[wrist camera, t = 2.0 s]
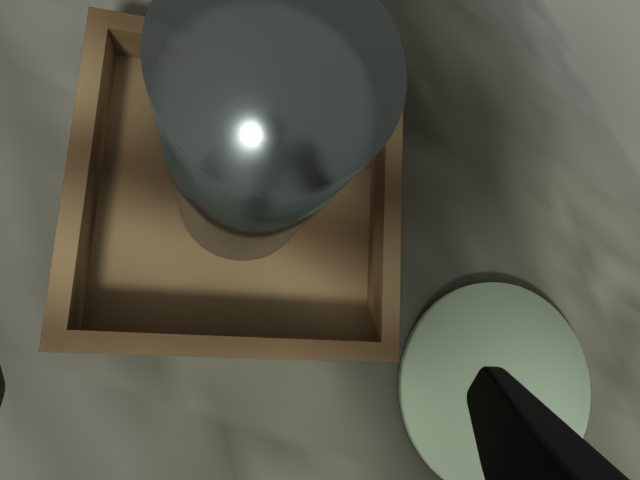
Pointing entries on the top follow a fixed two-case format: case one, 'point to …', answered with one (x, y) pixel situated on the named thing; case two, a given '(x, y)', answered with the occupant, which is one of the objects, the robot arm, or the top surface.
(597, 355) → the top surface
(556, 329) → the drink coaster
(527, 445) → the robot arm
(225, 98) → the grey round cylinder
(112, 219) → the light wooden tray
